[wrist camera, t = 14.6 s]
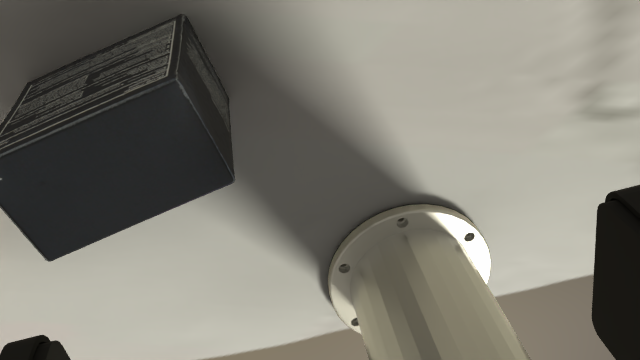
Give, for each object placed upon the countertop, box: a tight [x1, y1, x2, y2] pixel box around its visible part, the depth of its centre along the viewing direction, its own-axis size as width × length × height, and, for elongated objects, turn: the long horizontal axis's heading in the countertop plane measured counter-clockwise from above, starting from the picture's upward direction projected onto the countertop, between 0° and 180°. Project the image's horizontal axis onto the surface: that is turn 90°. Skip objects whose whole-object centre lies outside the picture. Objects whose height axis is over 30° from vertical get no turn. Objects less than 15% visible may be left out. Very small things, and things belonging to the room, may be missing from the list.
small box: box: [0, 15, 235, 261], centre depth 33 cm, size 11×6×10 cm, turn 111°
